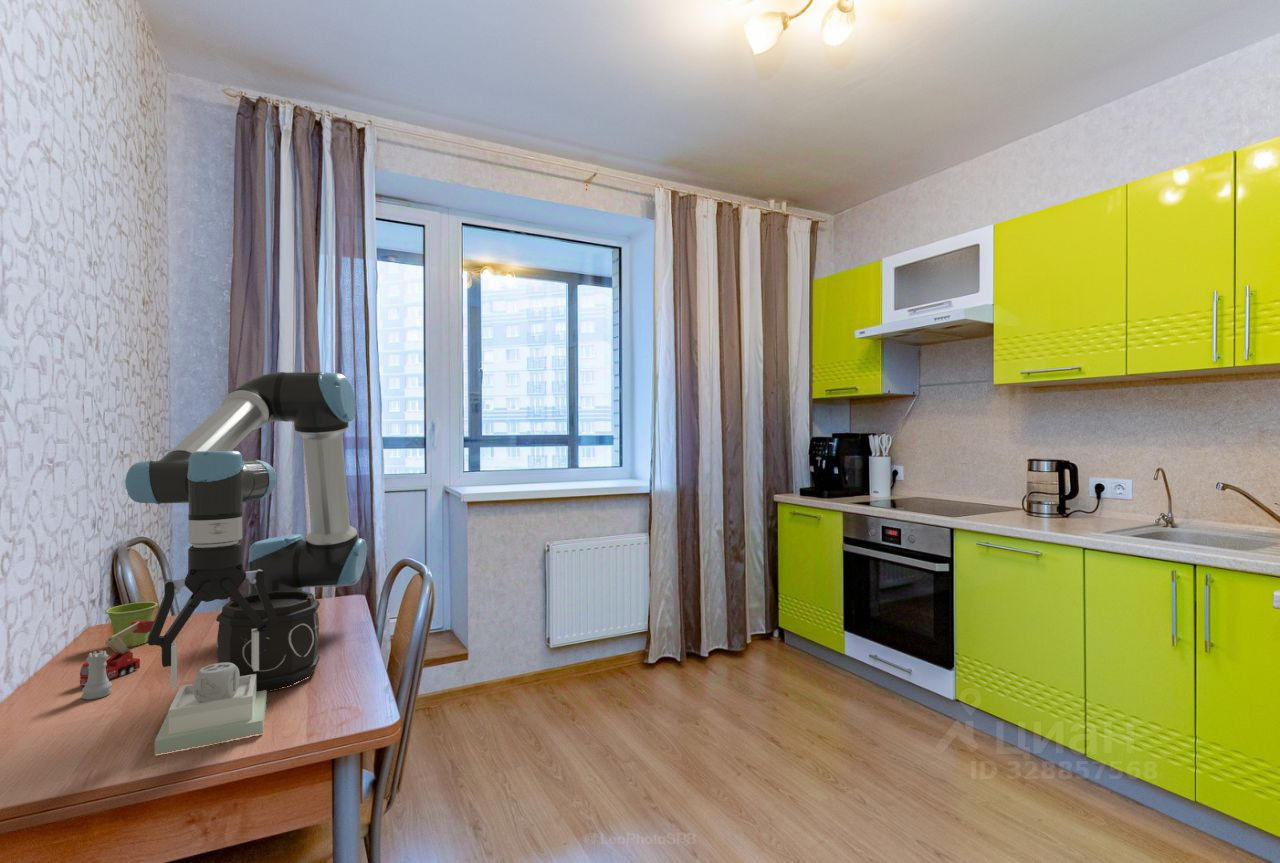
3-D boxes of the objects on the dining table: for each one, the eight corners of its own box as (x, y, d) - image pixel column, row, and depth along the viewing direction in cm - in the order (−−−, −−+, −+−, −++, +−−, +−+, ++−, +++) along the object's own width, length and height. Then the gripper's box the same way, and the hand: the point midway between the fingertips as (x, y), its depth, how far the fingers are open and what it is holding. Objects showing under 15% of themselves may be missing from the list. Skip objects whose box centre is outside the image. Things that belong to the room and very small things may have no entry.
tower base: (266, 706, 114) (266, 669, 114) (262, 739, 102) (262, 697, 102) (171, 723, 107) (171, 684, 107) (154, 760, 95) (154, 716, 95)
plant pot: (116, 653, 141) (116, 614, 141) (99, 646, 146) (99, 609, 146) (164, 641, 149) (164, 605, 149) (147, 635, 154) (147, 599, 154)
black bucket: (340, 673, 128) (340, 595, 129) (245, 704, 114) (245, 616, 114) (294, 656, 139) (294, 584, 139) (201, 682, 124) (202, 602, 124)
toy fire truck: (76, 687, 122) (76, 637, 122) (145, 662, 135) (145, 617, 135) (90, 688, 121) (90, 638, 121) (157, 663, 135) (157, 618, 135)
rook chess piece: (114, 695, 118) (114, 652, 118) (83, 702, 115) (83, 658, 115) (110, 688, 121) (110, 647, 121) (79, 696, 118) (79, 653, 118)
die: (227, 702, 103) (227, 671, 103) (192, 705, 102) (192, 674, 102) (240, 690, 108) (239, 661, 108) (207, 693, 106) (207, 663, 106)
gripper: (126, 555, 95) (126, 702, 94) (298, 538, 109) (298, 666, 109) (126, 548, 100) (126, 687, 100) (289, 533, 115) (289, 655, 115)
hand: (215, 676), depth 105 cm, fingers open, 10 cm apart
